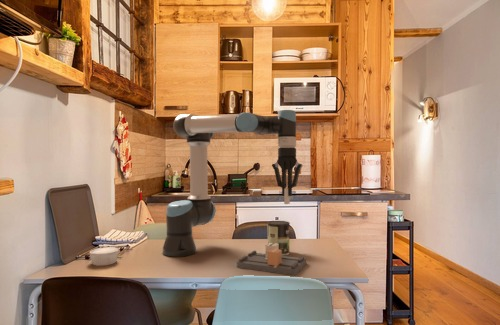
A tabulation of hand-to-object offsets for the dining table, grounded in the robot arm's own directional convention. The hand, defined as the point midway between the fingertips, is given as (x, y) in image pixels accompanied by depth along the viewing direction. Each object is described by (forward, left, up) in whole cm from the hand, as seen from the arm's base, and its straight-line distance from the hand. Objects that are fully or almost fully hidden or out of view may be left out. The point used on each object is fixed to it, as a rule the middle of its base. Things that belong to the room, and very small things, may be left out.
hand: (287, 203), depth 143 cm
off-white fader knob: (-6, -2, -22) cm, 23 cm away
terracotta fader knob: (-1, -12, -22) cm, 25 cm away
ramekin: (-69, -32, -25) cm, 80 cm away
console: (-4, -7, -24) cm, 26 cm away
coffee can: (-8, +12, -25) cm, 29 cm away
